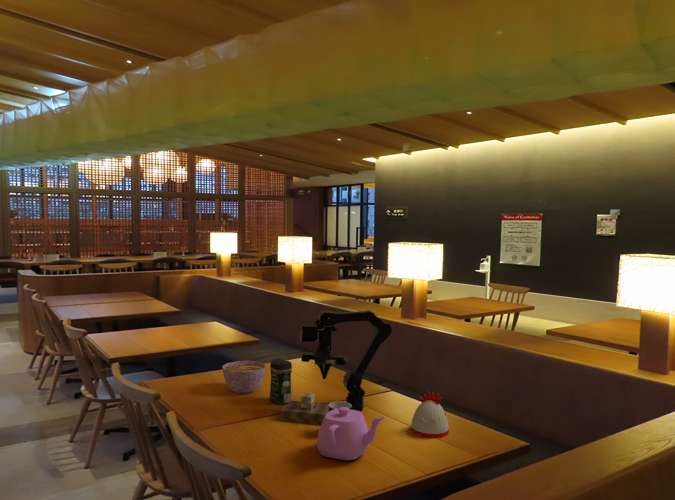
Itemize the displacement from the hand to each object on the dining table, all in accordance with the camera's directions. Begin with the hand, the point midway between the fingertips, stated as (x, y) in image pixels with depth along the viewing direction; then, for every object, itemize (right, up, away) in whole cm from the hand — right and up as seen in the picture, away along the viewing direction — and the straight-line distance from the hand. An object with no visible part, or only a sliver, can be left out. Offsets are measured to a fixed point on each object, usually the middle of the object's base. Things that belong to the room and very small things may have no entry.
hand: (324, 379), depth 220 cm
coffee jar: (-19, -13, +11) cm, 25 cm away
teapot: (+8, -15, -41) cm, 44 cm away
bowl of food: (-37, -12, +24) cm, 46 cm away
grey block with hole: (-7, -13, -8) cm, 17 cm away
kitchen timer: (+40, -15, -20) cm, 47 cm away
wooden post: (-7, -13, -8) cm, 17 cm away
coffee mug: (+7, -14, -22) cm, 27 cm away
